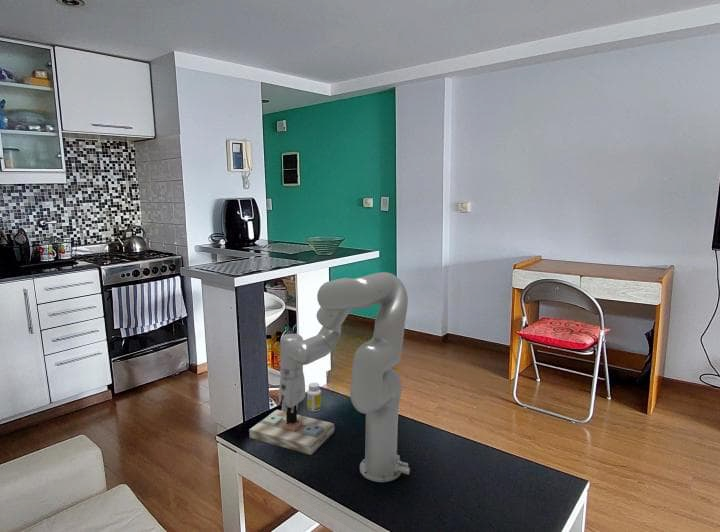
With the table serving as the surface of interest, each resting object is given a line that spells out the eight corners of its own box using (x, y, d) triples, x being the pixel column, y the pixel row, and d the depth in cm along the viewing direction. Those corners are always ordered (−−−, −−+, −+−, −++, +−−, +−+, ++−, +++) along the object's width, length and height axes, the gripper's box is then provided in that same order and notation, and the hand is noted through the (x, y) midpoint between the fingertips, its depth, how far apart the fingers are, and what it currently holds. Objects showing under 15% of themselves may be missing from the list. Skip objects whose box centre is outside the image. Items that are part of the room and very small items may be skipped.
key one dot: (283, 424, 162) (283, 416, 162) (274, 431, 158) (274, 422, 157) (271, 421, 164) (271, 413, 164) (262, 428, 160) (262, 419, 159)
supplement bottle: (322, 405, 179) (322, 382, 178) (319, 412, 174) (319, 388, 173) (308, 405, 180) (308, 381, 178) (305, 411, 175) (305, 387, 173)
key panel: (334, 431, 160) (334, 423, 160) (311, 454, 146) (311, 446, 145) (276, 417, 170) (276, 409, 169) (249, 437, 155) (249, 429, 155)
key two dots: (322, 435, 156) (322, 426, 155) (315, 442, 151) (315, 433, 151) (310, 431, 158) (310, 423, 157) (302, 438, 153) (302, 429, 153)
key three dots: (302, 428, 159) (302, 420, 158) (294, 435, 154) (294, 426, 154) (290, 425, 161) (290, 417, 160) (282, 432, 156) (282, 423, 156)
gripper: (288, 381, 146) (288, 434, 149) (312, 365, 159) (312, 414, 162) (269, 376, 149) (269, 429, 152) (294, 361, 162) (294, 410, 165)
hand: (291, 421), depth 157 cm, fingers closed
